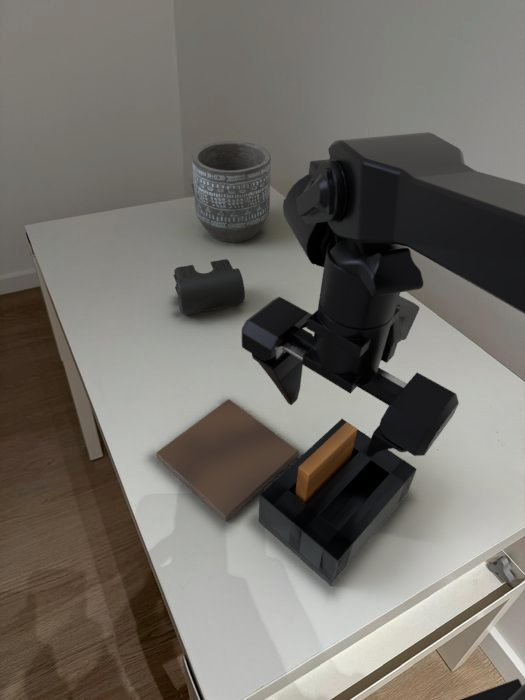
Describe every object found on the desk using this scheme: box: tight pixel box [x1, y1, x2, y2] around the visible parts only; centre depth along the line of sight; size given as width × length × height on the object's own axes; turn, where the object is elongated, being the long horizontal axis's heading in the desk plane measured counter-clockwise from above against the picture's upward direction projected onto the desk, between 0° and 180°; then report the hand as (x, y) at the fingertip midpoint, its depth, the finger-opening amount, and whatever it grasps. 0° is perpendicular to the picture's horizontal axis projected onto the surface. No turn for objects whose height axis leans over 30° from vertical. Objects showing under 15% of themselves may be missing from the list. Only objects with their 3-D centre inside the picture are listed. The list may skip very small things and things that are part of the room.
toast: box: [295, 421, 358, 505], centre depth 55 cm, size 1×8×8 cm, turn 136°
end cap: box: [173, 258, 246, 316], centre depth 82 cm, size 10×7×7 cm
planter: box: [191, 140, 272, 243], centre depth 97 cm, size 14×14×15 cm
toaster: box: [258, 418, 418, 587], centre depth 56 cm, size 10×15×6 cm, turn 137°
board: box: [155, 399, 299, 523], centre depth 62 cm, size 12×12×1 cm
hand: (330, 426), depth 50 cm, fingers open, 9 cm apart
